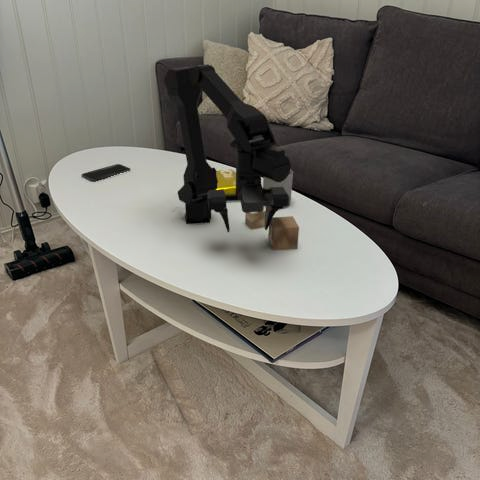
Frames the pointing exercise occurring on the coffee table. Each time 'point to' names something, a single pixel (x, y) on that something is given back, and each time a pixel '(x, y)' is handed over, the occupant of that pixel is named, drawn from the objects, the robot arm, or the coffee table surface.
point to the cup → (280, 185)
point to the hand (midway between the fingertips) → (247, 230)
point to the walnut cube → (283, 233)
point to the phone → (105, 172)
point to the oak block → (255, 219)
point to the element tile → (226, 181)
